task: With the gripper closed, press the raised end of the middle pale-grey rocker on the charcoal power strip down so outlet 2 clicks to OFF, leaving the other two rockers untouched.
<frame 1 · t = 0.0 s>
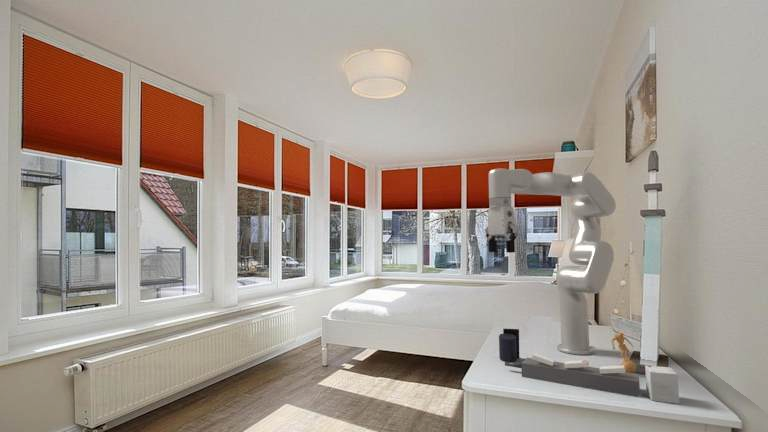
hand: (501, 252, 140), 37 cm above the dresser, tool pointing down, fingers open, 9 cm apart
rocker 3: (612, 369, 109), point 6 cm above the dresser, hinge at 12.0°
rocker 2: (576, 363, 114), point 6 cm above the dresser, hinge at 12.0°
speaker: (510, 360, 138), on the dresser
power strip: (577, 382, 115), on the dresser
skincare box: (662, 399, 103), on the dresser
figurine: (625, 372, 124), on the dresser
rocker 1: (543, 359, 119), point 5 cm above the dresser, hinge at -12.0°
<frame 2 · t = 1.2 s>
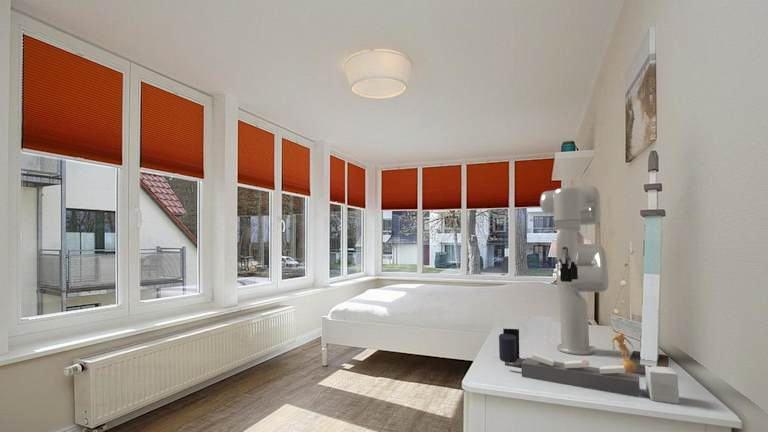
hand: (569, 280, 126), 29 cm above the dresser, tool pointing down, fingers open, 9 cm apart
nothing on the dresser moved.
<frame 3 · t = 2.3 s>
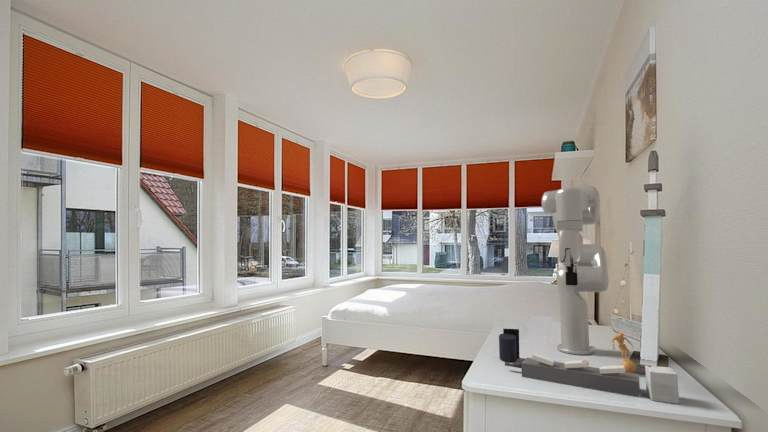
hand: (571, 284, 125), 27 cm above the dresser, tool pointing down, fingers closed
nothing on the dresser moved.
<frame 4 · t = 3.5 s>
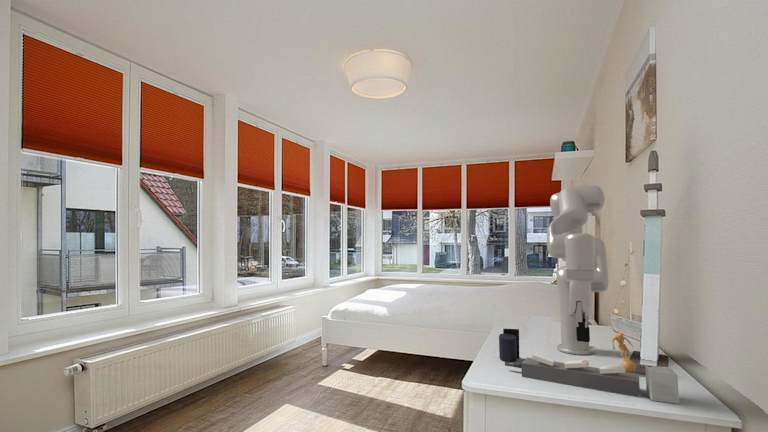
hand: (583, 341, 113), 12 cm above the dresser, tool pointing down, fingers closed
nothing on the dresser moved.
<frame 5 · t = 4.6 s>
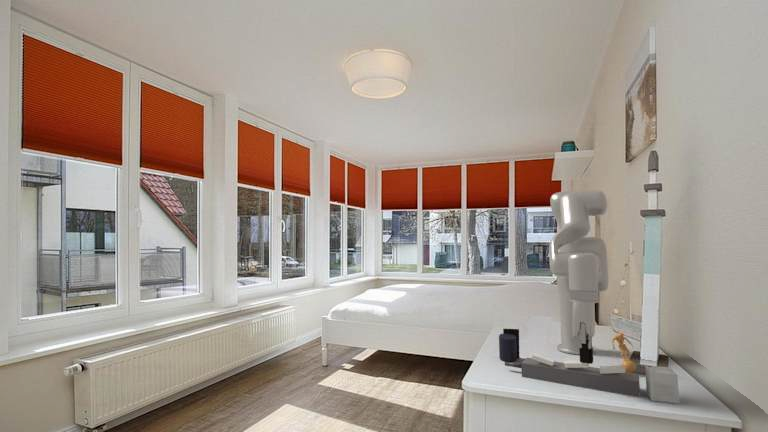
hand: (586, 362, 112), 7 cm above the dresser, tool pointing down, fingers closed
rocker 2: (576, 363, 114), point 6 cm above the dresser, hinge at 9.4°, touching gripper
everything else where it was.
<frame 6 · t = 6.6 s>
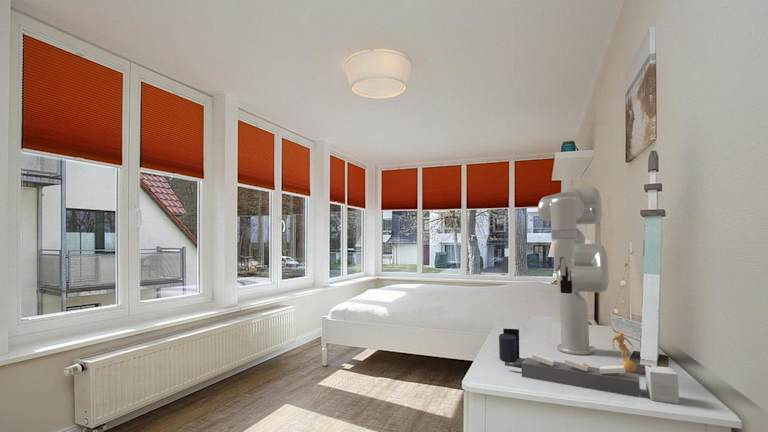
hand: (566, 292, 127), 24 cm above the dresser, tool pointing down, fingers closed
rocker 2: (576, 363, 114), point 6 cm above the dresser, hinge at -11.7°
everything else where it was.
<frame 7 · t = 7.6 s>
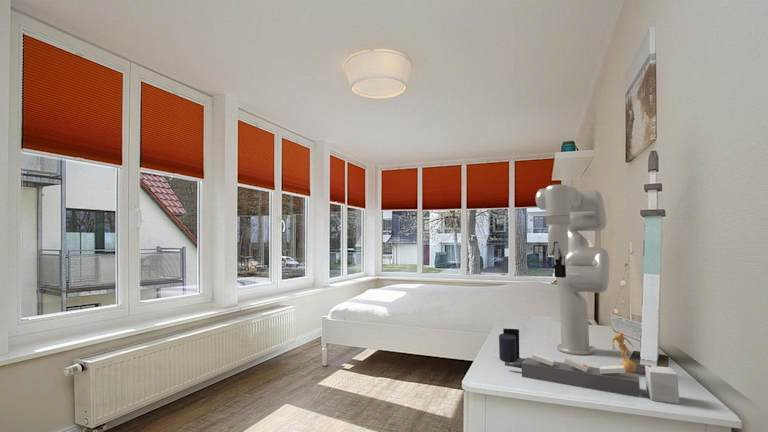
hand: (560, 277, 131), 29 cm above the dresser, tool pointing down, fingers closed
rocker 2: (576, 363, 114), point 6 cm above the dresser, hinge at -18.2°, touching power strip
everything else where it was.
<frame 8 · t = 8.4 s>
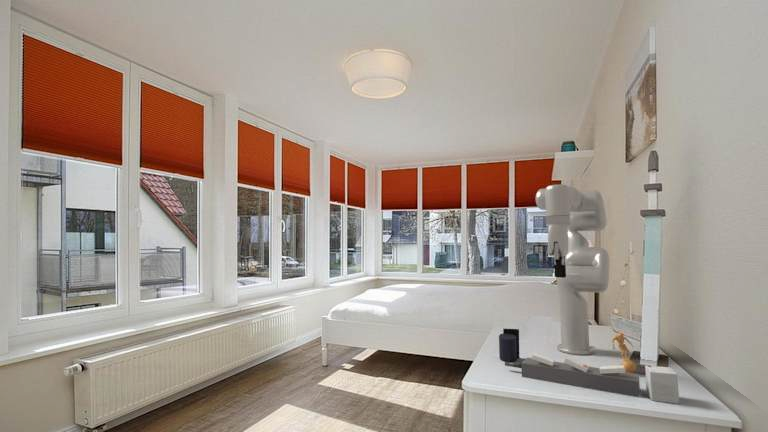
hand: (560, 277, 131), 29 cm above the dresser, tool pointing down, fingers closed
rocker 2: (576, 363, 114), point 6 cm above the dresser, hinge at -19.6°, touching power strip
everything else where it was.
at the end: rocker 2 at -20° (first picture: +12°); rocker 3 at +12° (first picture: +12°); rocker 1 at -12° (first picture: -12°) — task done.
